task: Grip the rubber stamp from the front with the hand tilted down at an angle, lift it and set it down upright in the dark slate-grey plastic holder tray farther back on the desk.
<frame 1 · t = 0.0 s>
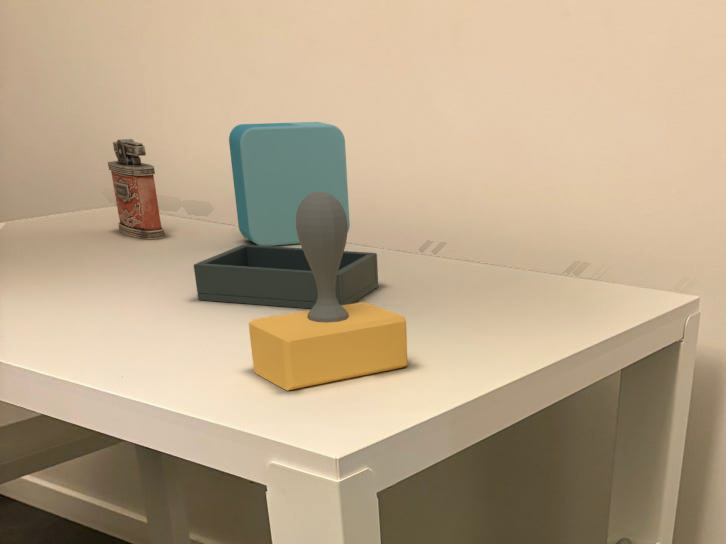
rubber stamp: (331, 372, 72), on the table
lighter: (142, 235, 117), on the table
teal rounded flat block: (296, 242, 114), on the table
holder: (290, 293, 92), on the table
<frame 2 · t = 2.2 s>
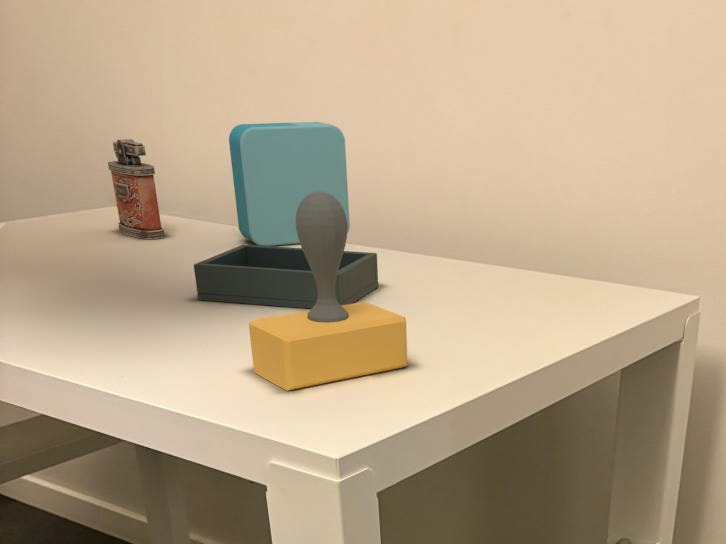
nothing on the table moved.
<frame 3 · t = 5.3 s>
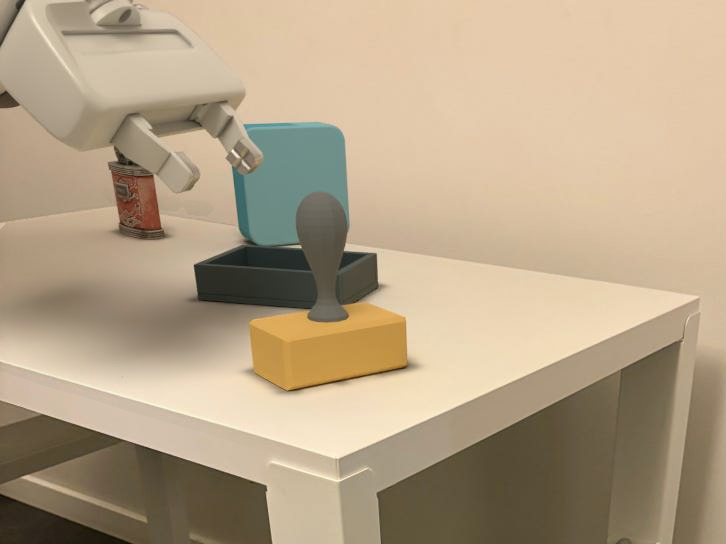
hand: (224, 175, 67), 13 cm above the table, tool tilted 45°, fingers open, 8 cm apart
nothing on the table moved.
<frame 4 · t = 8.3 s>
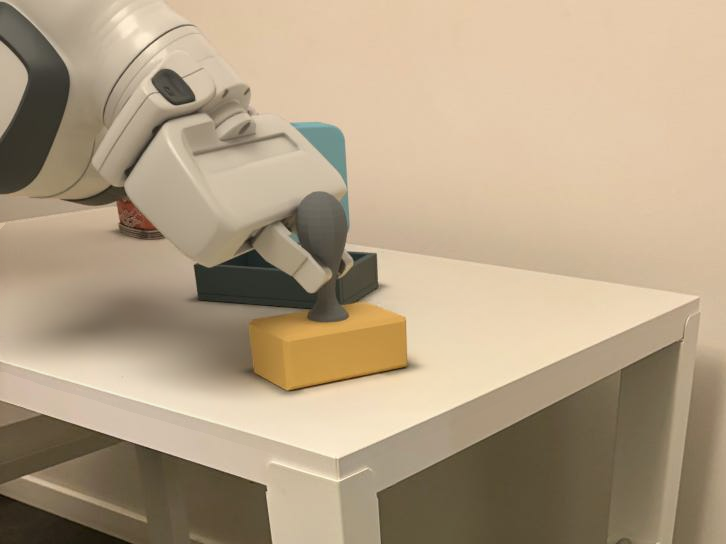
hand: (334, 279, 69), 6 cm above the table, tool tilted 45°, fingers closed on rubber stamp, 3 cm apart
rubber stamp: (331, 372, 72), on the table, touching gripper
everything else where it was.
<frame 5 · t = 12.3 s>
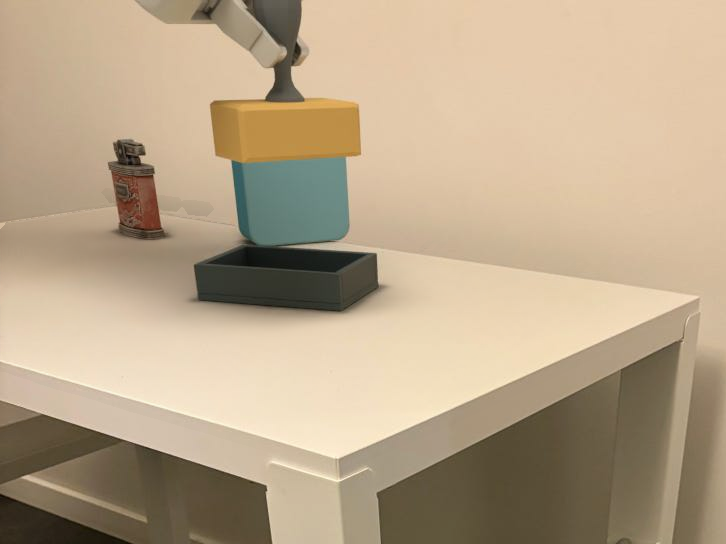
hand: (289, 60, 73), 19 cm above the table, tool tilted 45°, fingers closed on rubber stamp, 3 cm apart
rubber stamp: (289, 158, 77), point 13 cm above the table, touching gripper
everything else where it was.
when the fingers open (9 cm above the table, at t = 16.6 s): rubber stamp stays where it is, resting on holder.
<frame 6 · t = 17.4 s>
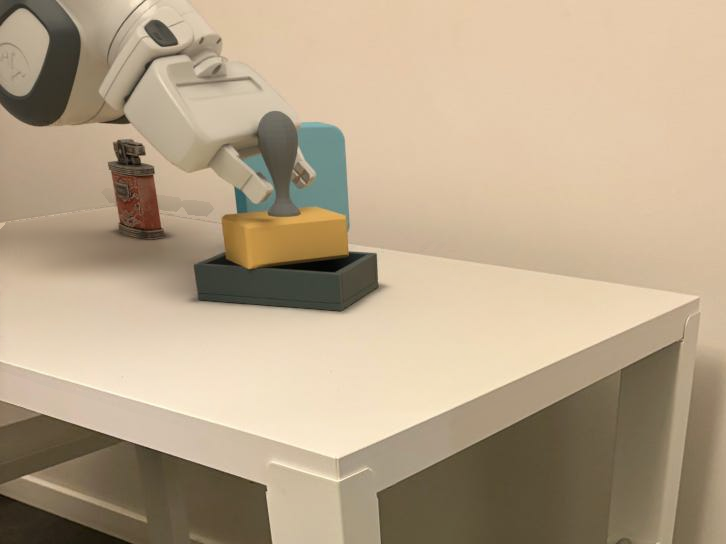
hand: (288, 190, 87), 9 cm above the table, tool tilted 45°, fingers open, 8 cm apart
rubber stamp: (288, 260, 91), point 3 cm above the table, touching holder
everything else where it was.
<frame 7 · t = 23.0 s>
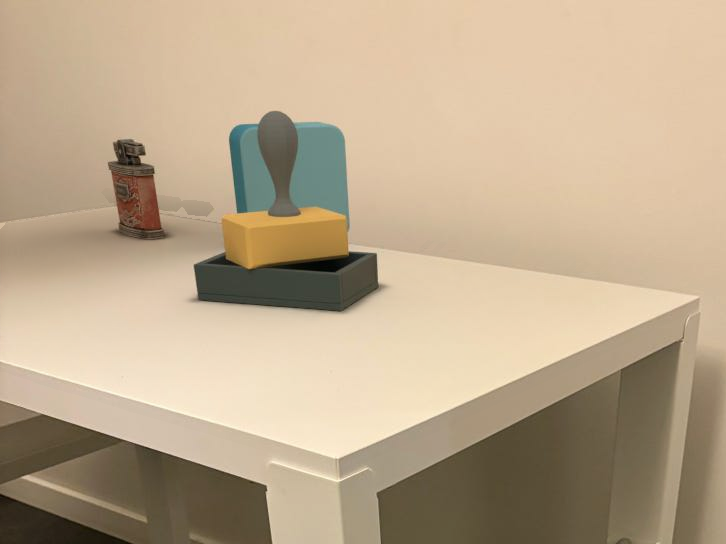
nothing on the table moved.
at the end: rubber stamp 0.1 cm off-centre in the holder, point 2.9 cm above the holder's base; rubber stamp tilted 0°; the gripper is holding nothing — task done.
